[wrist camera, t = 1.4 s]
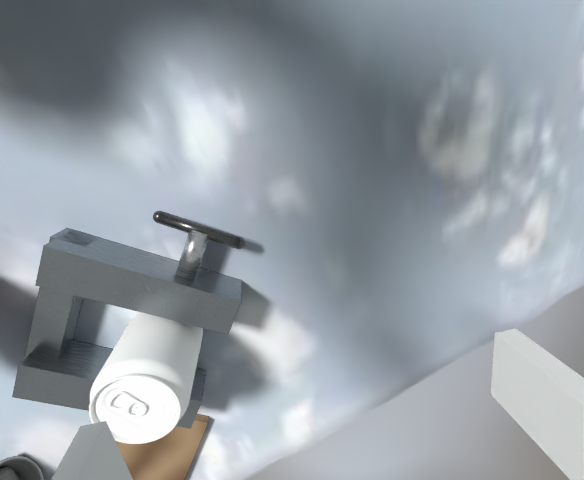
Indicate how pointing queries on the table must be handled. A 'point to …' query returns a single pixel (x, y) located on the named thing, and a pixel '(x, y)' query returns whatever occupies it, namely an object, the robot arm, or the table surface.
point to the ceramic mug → (19, 469)
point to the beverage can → (146, 379)
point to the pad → (165, 453)
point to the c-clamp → (123, 293)
